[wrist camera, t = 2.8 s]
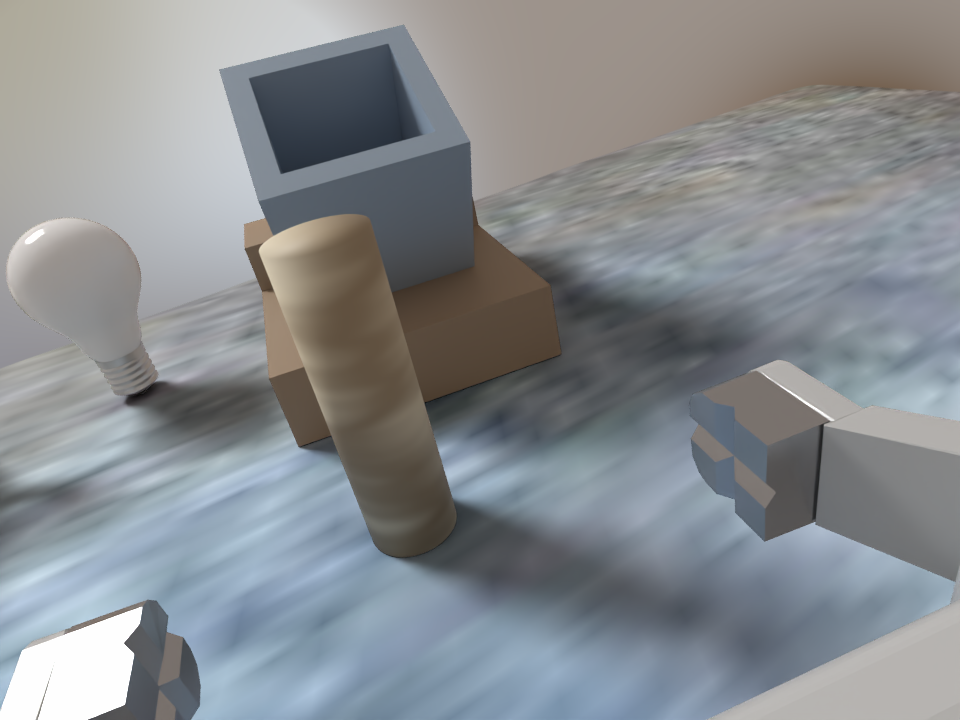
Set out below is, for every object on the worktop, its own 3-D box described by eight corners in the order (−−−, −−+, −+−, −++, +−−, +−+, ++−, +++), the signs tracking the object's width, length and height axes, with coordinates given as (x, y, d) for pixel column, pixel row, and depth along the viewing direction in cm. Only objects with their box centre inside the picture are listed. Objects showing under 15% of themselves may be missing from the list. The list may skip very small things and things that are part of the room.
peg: (380, 570, 24) (260, 269, 18) (365, 511, 27) (257, 236, 21) (467, 535, 24) (379, 233, 18) (443, 482, 27) (361, 206, 21)
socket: (298, 447, 32) (148, 99, 23) (280, 315, 46) (183, 72, 38) (561, 354, 34) (506, 10, 26) (466, 257, 48) (412, 16, 40)
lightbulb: (187, 400, 38) (94, 220, 32) (75, 436, 37) (-41, 257, 31) (197, 353, 43) (118, 192, 38) (99, 383, 42) (3, 222, 37)
